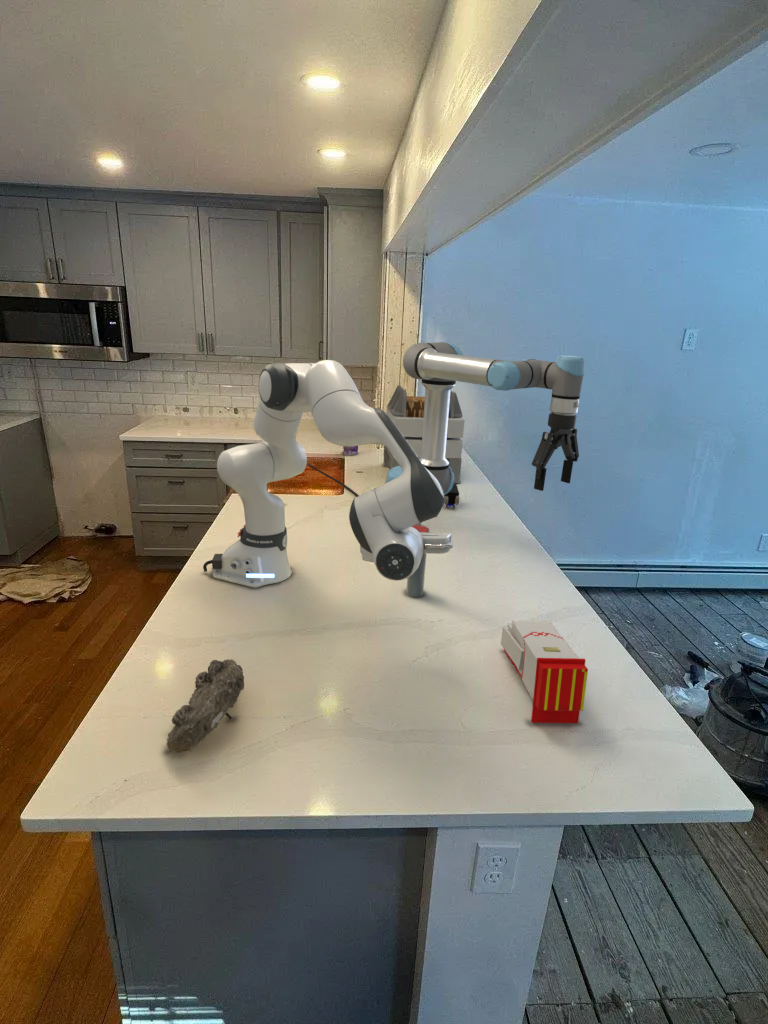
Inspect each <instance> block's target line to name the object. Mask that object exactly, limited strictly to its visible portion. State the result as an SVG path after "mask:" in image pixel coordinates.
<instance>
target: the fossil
mask: <svg viewBox="0 0 768 1024" xmlns="http://www.w3.org/2000/svg"><path fill="white" fill-rule="evenodd" d="M243 670H244V669H243V667H242V665H240V664H237V662H236V661H235V660H234V659H232V658H231V659H227V658H226V659H224V660H223V661H222V660H217V659H212V660H211V661H210V663H209V665H208V666H207V671H201V672H199V673H198V674H197V675H196V676H195V680H194V684H195V685H194V687H195V689H194V690H193V693H192V694H191V697H190V698H189V700H188V704H184V705H182V706H181V707H180V709H177V710H176V711H175V713H174V715H173V716H172V718H171V723H172V724H173V727H172V730H171V731H170V732H168V734H167V738H166V741H167V742H166V745H167V749H168V750H169V751H173V752H174V753H176V754H178V753H182V752H188V751H189V752H192V751H193V750H195V748H196V747H197V746H199V744H200V743H201V742H203V741H204V740H205V739H206V738H207V737H208V736H209V735H210V734H211V733H212V732H214V730H215V729H217V727H218V726H219V724H220V722H221V721H222V720H223V719H224V718H225V716H226V717H227V719H229V720H233V717H232V715H230V714H229V710H230V709H231V708H234V706H235V704H236V703H237V702H238V699H239V697H240V695H241V693H242V691H243V690H245V689H244V688H245V675H244V671H243Z"/></svg>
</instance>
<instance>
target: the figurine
mask: <svg viewBox="0 0 768 1024" xmlns="http://www.w3.org/2000/svg"><path fill="white" fill-rule="evenodd" d="M342 448H343V450H342V454H343V455H345V456H351V455H352V456H354V455H357V454H358V451H359V446H349V447H348V446H342Z"/></svg>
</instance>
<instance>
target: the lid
mask: <svg viewBox="0 0 768 1024" xmlns="http://www.w3.org/2000/svg"><path fill="white" fill-rule="evenodd" d="M411 527H413V528H415V529H416V530H417V531H418V532H430V529H429V528H428V526H424V525H422V526H419V525H416V526H411Z"/></svg>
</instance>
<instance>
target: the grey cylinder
mask: <svg viewBox="0 0 768 1024" xmlns="http://www.w3.org/2000/svg"><path fill="white" fill-rule="evenodd" d="M426 563H427V553H423V555H422V558H421V562H420V565H419V567H418V568H417V570H416V571H415V572H414V573H413V574H412V575H411V576H410V577H408V578H406V589H405V590H406V591H405V592H406V595H407V596H409V597H412V598H420V597H423V595H424V591H425V577H426V576H425V575H426V565H427V564H426Z"/></svg>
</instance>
